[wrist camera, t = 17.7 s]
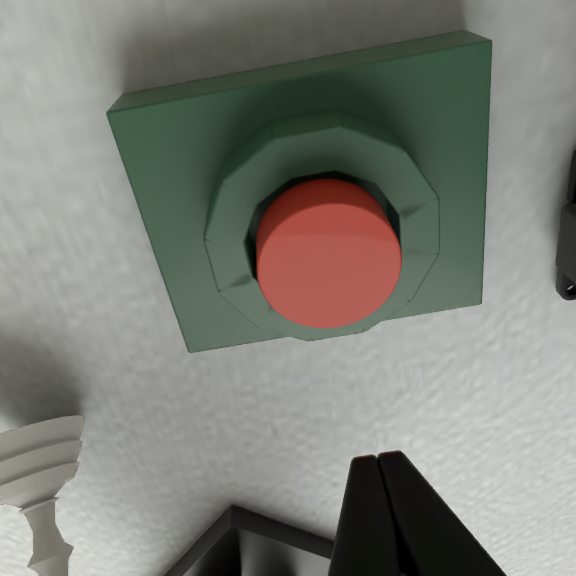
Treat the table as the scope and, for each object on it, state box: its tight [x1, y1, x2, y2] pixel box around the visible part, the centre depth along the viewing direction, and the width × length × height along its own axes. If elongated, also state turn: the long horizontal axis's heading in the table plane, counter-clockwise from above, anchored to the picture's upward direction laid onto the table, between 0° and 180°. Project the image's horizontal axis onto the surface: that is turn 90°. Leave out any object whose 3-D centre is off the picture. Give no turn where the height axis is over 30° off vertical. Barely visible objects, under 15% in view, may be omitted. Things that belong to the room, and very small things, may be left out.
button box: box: [106, 30, 492, 353], centre depth 17 cm, size 11×9×4 cm
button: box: [256, 179, 402, 328], centre depth 15 cm, size 4×4×2 cm
